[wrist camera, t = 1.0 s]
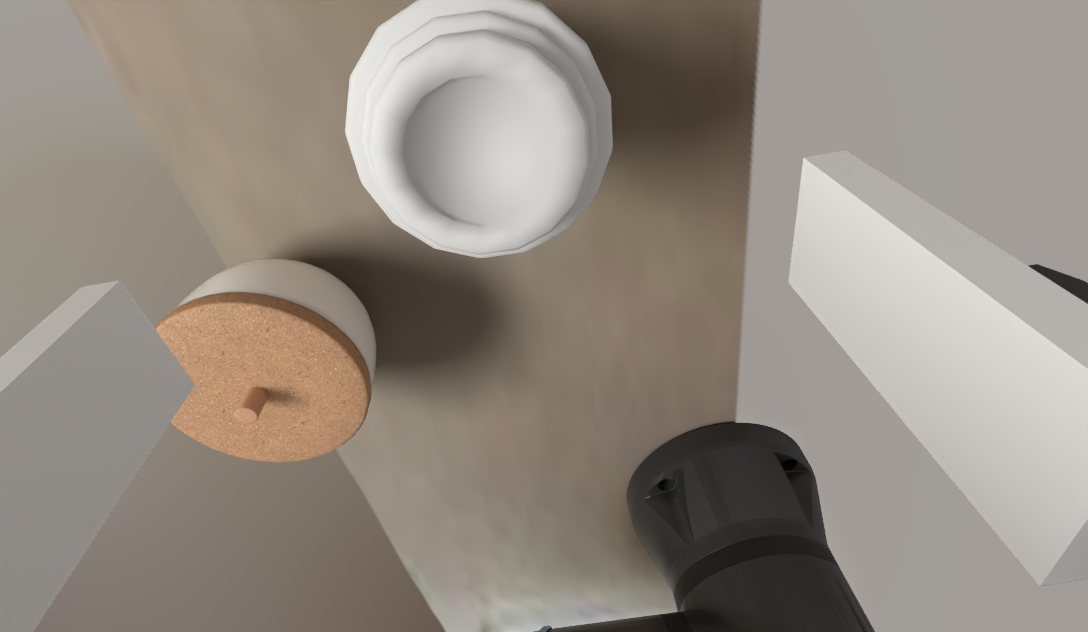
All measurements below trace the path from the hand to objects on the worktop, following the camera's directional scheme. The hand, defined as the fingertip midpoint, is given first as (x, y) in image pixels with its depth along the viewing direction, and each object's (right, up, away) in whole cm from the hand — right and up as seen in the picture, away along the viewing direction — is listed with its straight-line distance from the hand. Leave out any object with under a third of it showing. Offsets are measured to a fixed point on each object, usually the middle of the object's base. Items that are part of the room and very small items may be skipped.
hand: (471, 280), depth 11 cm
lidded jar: (-13, 0, +23) cm, 27 cm away
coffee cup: (-1, +11, +16) cm, 20 cm away
